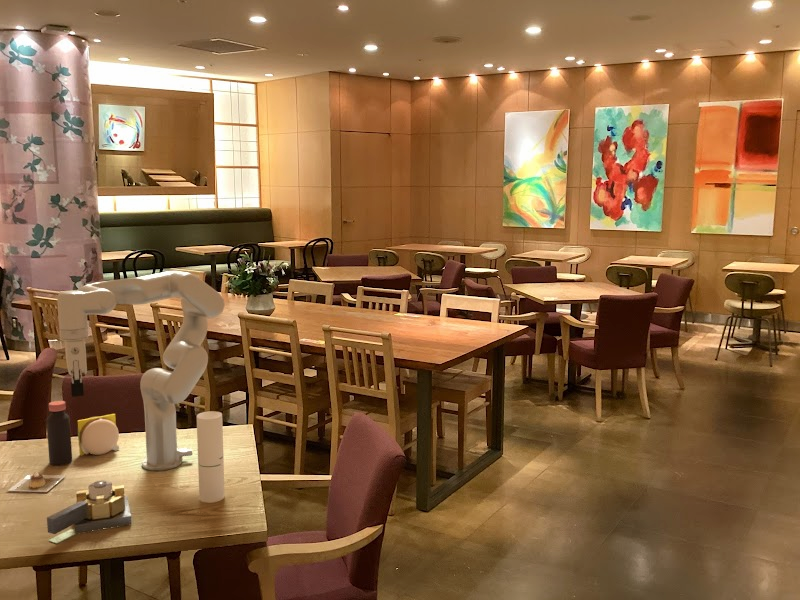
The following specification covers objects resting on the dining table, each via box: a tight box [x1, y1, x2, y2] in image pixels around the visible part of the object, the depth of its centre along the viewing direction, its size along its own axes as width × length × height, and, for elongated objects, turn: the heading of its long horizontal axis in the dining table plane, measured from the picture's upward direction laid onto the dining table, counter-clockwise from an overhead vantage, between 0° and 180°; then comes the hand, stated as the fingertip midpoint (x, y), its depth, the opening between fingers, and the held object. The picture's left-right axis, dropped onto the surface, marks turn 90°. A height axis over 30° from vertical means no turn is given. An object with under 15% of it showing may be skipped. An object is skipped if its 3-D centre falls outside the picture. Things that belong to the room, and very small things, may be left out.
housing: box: [48, 480, 132, 545], centre depth 201 cm, size 20×18×10 cm
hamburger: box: [77, 413, 120, 456], centre depth 251 cm, size 12×8×12 cm
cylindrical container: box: [196, 410, 226, 504], centre depth 216 cm, size 7×7×25 cm
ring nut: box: [46, 484, 126, 535], centre depth 199 cm, size 22×12×6 cm, turn 156°
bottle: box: [46, 400, 73, 466], centre depth 242 cm, size 7×7×20 cm
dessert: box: [6, 471, 66, 493], centre depth 225 cm, size 12×12×5 cm
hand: (77, 395), depth 218 cm, fingers closed
